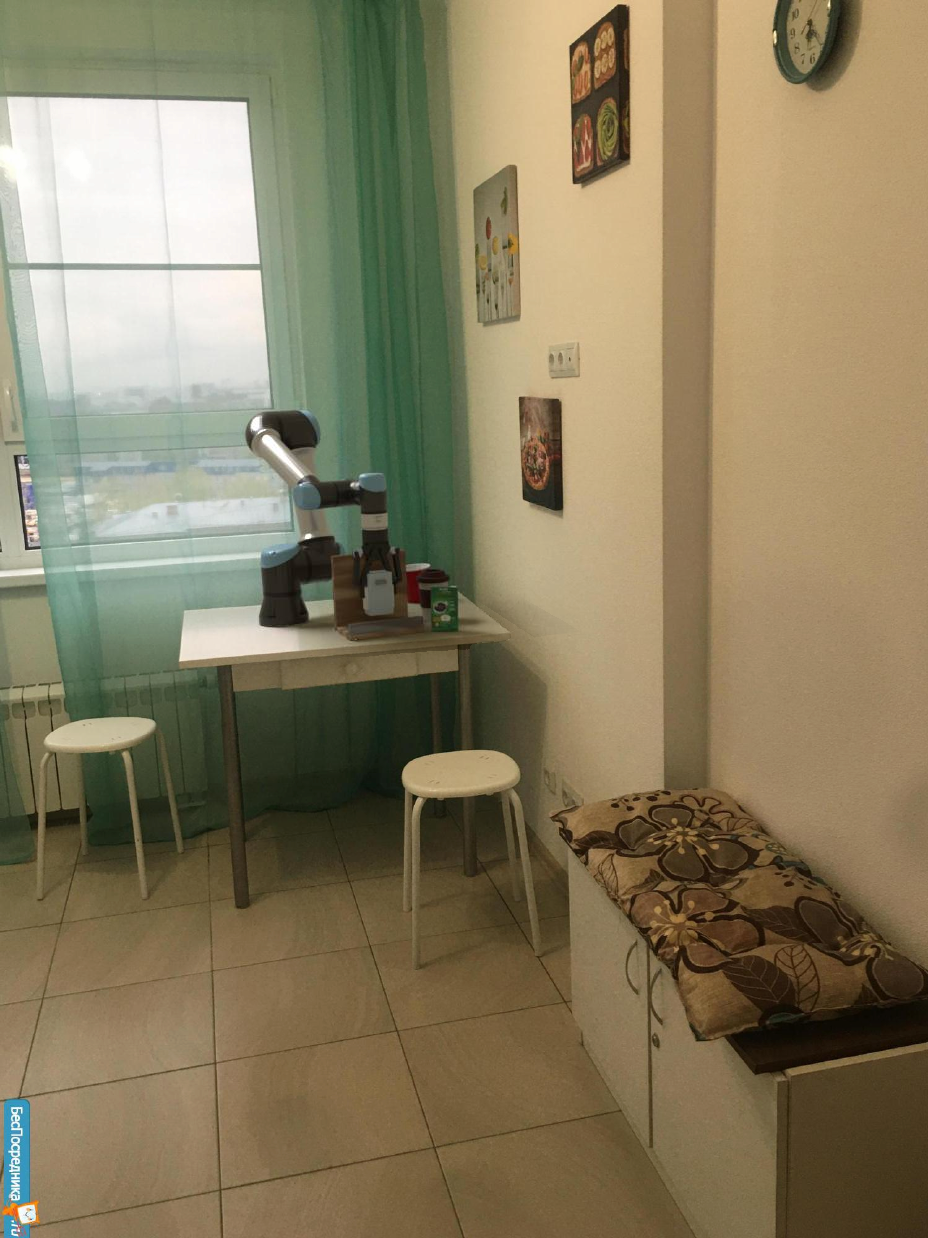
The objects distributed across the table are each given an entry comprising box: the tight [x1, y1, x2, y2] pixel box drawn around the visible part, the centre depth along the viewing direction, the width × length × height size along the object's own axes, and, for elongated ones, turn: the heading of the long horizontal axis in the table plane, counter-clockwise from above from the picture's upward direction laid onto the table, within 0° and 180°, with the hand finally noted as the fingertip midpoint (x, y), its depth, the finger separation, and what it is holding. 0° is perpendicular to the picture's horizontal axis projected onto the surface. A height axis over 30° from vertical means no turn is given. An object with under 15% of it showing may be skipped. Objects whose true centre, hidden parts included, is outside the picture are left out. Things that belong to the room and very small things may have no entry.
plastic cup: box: [406, 563, 431, 604], centre depth 357 cm, size 11×11×12 cm
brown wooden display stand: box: [331, 549, 425, 641], centre depth 313 cm, size 15×22×22 cm
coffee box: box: [430, 585, 459, 632], centre depth 313 cm, size 8×3×13 cm, turn 88°
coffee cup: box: [417, 568, 451, 623], centre depth 328 cm, size 10×10×15 cm
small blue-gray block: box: [365, 570, 394, 616], centre depth 312 cm, size 6×7×12 cm
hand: (378, 607), depth 314 cm, fingers closed on small blue-gray block, 7 cm apart
